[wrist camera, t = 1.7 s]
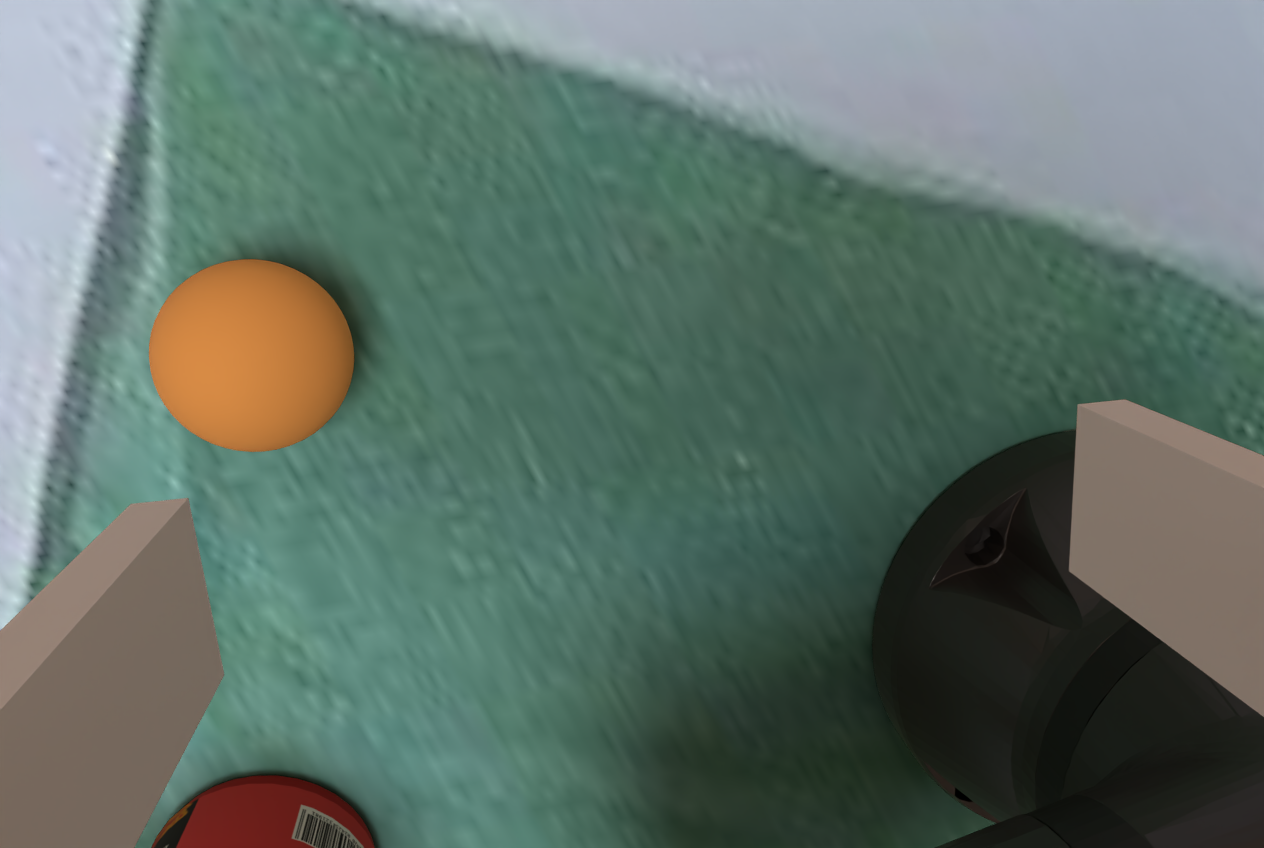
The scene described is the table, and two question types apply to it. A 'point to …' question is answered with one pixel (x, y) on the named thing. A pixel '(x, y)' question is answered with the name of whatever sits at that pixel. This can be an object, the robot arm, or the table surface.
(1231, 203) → the table surface
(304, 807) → the canned food
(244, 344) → the ball
